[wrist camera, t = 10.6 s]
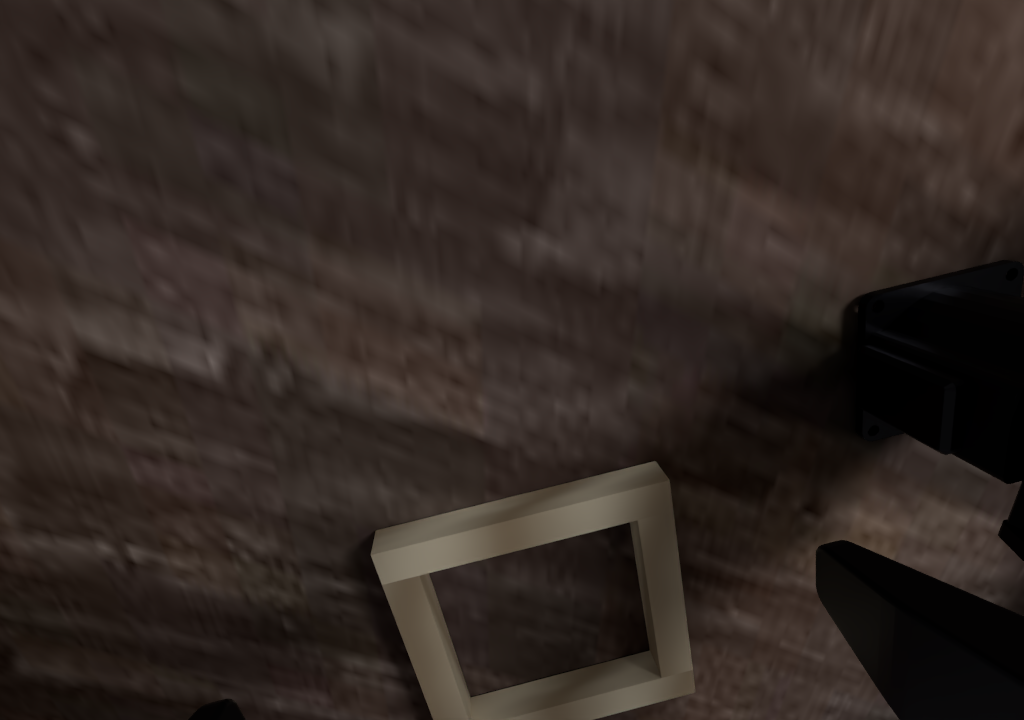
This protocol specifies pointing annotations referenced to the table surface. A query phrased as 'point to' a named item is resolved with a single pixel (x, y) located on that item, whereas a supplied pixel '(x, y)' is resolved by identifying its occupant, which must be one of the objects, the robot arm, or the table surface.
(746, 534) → the table surface
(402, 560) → the board
